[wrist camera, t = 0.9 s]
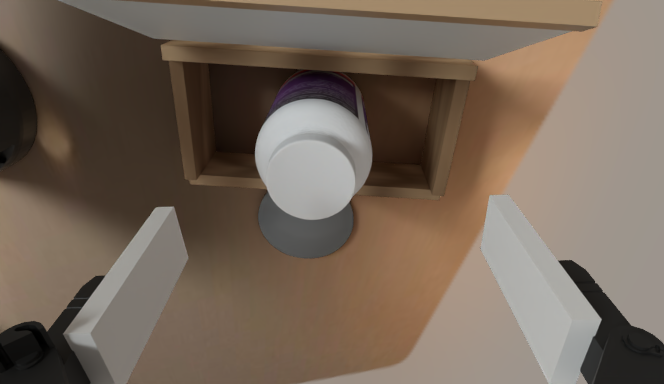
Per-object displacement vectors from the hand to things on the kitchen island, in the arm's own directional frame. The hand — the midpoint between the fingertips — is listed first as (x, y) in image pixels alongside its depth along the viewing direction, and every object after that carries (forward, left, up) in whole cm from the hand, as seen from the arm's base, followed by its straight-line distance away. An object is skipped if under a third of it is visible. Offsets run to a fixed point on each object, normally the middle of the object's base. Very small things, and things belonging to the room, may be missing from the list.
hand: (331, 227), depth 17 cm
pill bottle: (-1, -2, -22) cm, 22 cm away
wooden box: (-1, -2, -22) cm, 22 cm away
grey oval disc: (-2, -14, -22) cm, 26 cm away
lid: (-1, +6, -8) cm, 10 cm away
